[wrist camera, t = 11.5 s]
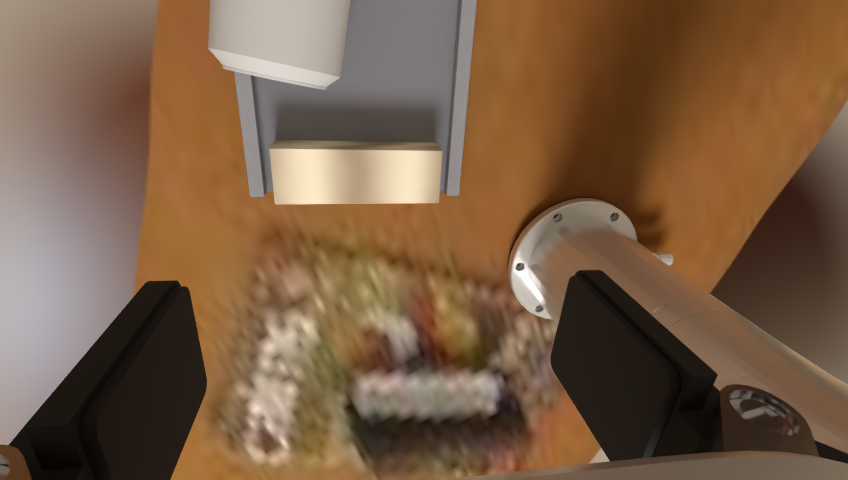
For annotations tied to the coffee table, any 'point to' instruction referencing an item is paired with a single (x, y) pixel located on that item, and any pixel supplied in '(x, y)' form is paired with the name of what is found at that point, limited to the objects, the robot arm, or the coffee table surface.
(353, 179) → the ledge
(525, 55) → the coffee table surface
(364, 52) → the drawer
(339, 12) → the can
